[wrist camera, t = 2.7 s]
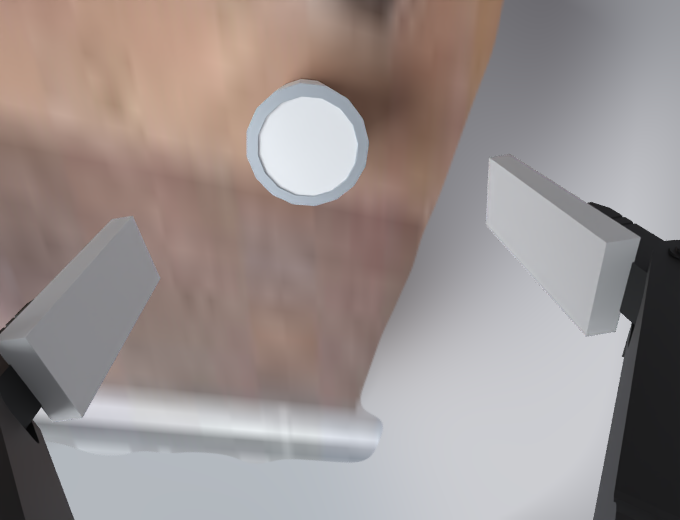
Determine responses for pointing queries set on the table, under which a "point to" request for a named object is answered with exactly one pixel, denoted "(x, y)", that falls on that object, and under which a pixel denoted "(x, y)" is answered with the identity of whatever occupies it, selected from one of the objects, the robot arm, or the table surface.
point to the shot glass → (307, 143)
